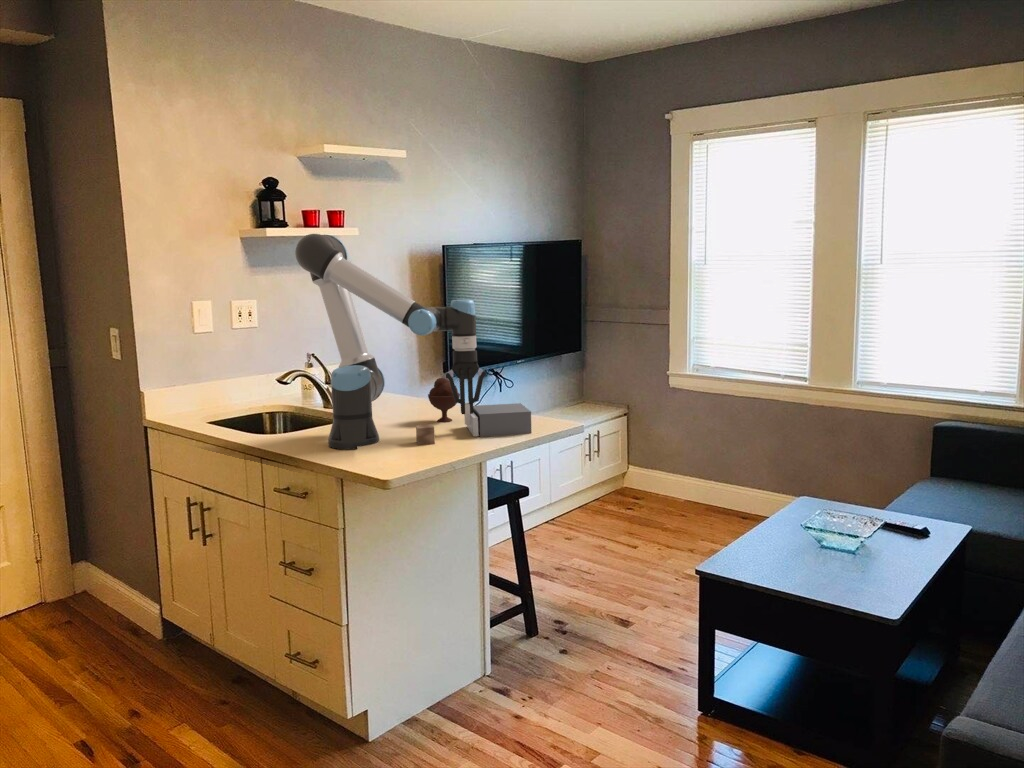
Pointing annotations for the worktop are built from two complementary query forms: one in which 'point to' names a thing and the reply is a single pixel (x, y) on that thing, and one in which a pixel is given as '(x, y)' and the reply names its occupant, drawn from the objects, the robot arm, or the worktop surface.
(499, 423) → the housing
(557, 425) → the worktop surface
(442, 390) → the ice cream bowl
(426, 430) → the block
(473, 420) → the tray
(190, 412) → the worktop surface
